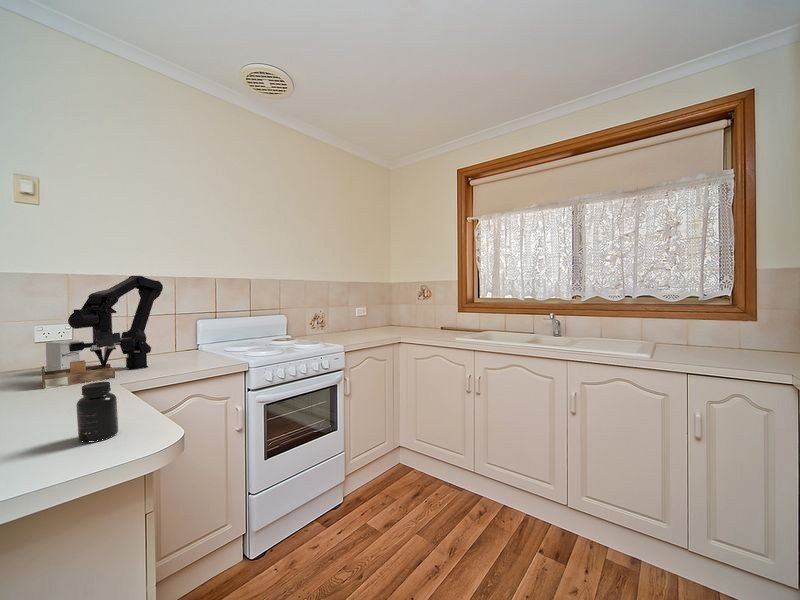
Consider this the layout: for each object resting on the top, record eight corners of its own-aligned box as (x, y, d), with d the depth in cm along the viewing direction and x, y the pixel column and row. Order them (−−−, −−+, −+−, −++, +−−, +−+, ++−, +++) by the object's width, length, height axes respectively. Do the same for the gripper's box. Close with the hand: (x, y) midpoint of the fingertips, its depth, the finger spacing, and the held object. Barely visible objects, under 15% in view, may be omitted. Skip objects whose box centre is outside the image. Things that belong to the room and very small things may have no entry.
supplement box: (60, 374, 138) (59, 342, 138) (46, 373, 140) (44, 342, 140) (80, 370, 146) (79, 340, 145) (66, 369, 147) (65, 339, 147)
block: (84, 370, 131) (84, 360, 131) (86, 372, 128) (85, 361, 128) (70, 372, 128) (69, 361, 128) (71, 374, 125) (70, 363, 125)
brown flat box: (110, 373, 139) (109, 358, 139) (115, 378, 132) (114, 362, 132) (42, 383, 125) (41, 366, 125) (43, 388, 118) (42, 371, 118)
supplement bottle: (94, 431, 82) (92, 380, 81) (125, 430, 82) (123, 379, 82) (69, 444, 75) (66, 388, 74) (103, 443, 75) (101, 387, 75)
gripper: (70, 329, 121) (72, 374, 121) (137, 325, 134) (138, 365, 135) (67, 327, 128) (69, 369, 129) (131, 323, 142) (132, 361, 142)
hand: (103, 366), depth 133 cm, fingers closed
